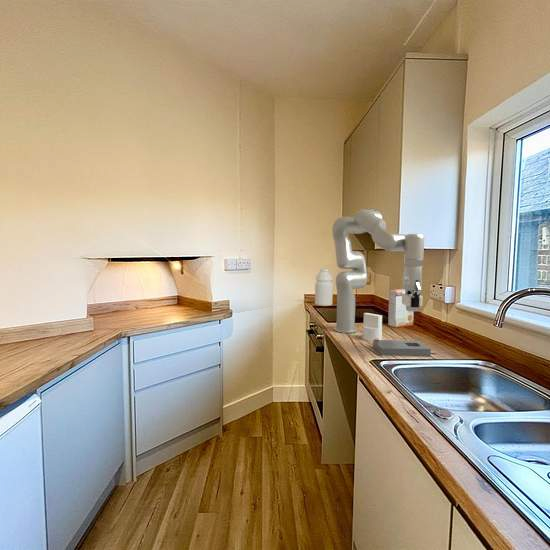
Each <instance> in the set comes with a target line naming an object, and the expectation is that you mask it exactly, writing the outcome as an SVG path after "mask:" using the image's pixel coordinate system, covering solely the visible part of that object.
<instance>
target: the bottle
mask: <svg viewBox="0 0 550 550" xmlns="http://www.w3.org/2000/svg"><path fill="white" fill-rule="evenodd" d="M329 270H330V269H329V268H320V270H319V271H320V272H318V273H317V275H316V276H315V277H316V278H315V280H316V282H315V283H314V305H316V306H319V307H320V306H322V307H326V306H327V307H328V306H333V300H334V299H333V297H334V296H333V295H334V294H333V292H334V283H333V279H334V278H333V276H332V274H331V273H330V271H329Z"/></svg>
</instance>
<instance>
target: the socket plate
mask: <svg viewBox="0 0 550 550" xmlns="http://www.w3.org/2000/svg"><path fill="white" fill-rule="evenodd" d="M372 347H373V348H374V349H375V350H376V352H377V353H378V354H379V355H380V354H381V355H380V356H382V355H415V356H414V357H431V355H432V353H431V351H432V348H430V347H428V346H427V345H425V344H424V343H423V342H421V341H420V340H410V339H408V340H407V339H405V340H403V339H401V340H400V339H382V340H379V339H374V340H373V341H372Z"/></svg>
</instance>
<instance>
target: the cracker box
mask: <svg viewBox="0 0 550 550" xmlns="http://www.w3.org/2000/svg"><path fill="white" fill-rule="evenodd" d="M402 294H405V289H403V288H400V289H399V288H398V289H389V290H388V318H387V319H388V320H387V321H388V327H392V328H395V329H396V328H402V327H409V326H414V311H407V310H406V305H404V304H402Z"/></svg>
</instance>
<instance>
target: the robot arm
mask: <svg viewBox="0 0 550 550" xmlns="http://www.w3.org/2000/svg"><path fill="white" fill-rule="evenodd" d="M331 227H332V228H331V229H332V230H331V234H332V238H333V241H334V246H335V247H334V248H335V258H336V259H335V260H336V265H337V267H338V268H339V269H342V270H347V271H341V272H339V273H337V275H336V277H335V287H336V325H335V326H334V327H333V329H334V330H335V332H336V331H337V333H341V332H342V333H343V334H353V333H354V332H355V333H357V332H358V328H357V327H355V324H356V322H355V321H356V295H355V293H354V291H353V290H356V289H357V290H358V289H360V290H361V289H363V288H365V287H366V285H367V283H368V272H367V265H366V264H367V263H366V258H365V256H364V254H363V253H362V252H360V251H356V250H355V251H354V250H353V249H352V248H353V247H352V241H351V239H350V237H349V236H348V234H354V235H355V234H356V235H357V234H358V235H359V234H364V233H368V234H370V235H371V236H370V237H371V240H372V241H373V243H374V244H375V245H377V246H378V247H380V248H381V249H382V250H385V251H387V252H404V253H403V268H404V269H403V275H402V289H405V294H412V298H411V307H418V308H420V306H419V299H420V296H421V292H422V286H423V270H422V269H423V268H424V257H425V256H424V254H425V253H424V251H425V250H424V249H425V236H424V234H421V233H408V234H404V233H390V232H389V231H386V229H387V224H386V221H385V220H384V219H383V215H382V213H381V212H380V211H378V210H375V209H359V210H358V211H356V212H355V213H354V216H341V217H338V218H336V219H335V221H334V222H333V224H332V226H331ZM351 269H352V270H351ZM350 270H351V271H350ZM333 329H332V330H333ZM334 330H333V331H334Z"/></svg>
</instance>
